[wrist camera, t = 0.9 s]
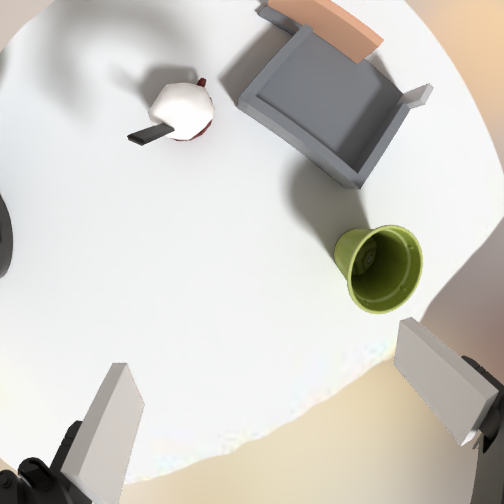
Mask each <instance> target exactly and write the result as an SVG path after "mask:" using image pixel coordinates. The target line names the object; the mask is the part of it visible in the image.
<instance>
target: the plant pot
mask: <svg viewBox="0 0 504 504" xmlns="http://www.w3.org/2000/svg"><path fill="white" fill-rule="evenodd" d="M358 252H359V254H358V255H356V254H357V253H358ZM371 255H372V257H371V260H370V262H369V263H368V264H367V261H368V259H369V257H370V256H371ZM334 258H335V262H336V265H337V267H338V268H339V270H340V271H341V273H342V274H343V276H344V277H345V279H346V280H347V286H348V290H349V294H350V296H351V298H352V300H353V301H354V303H355V304H356V305H357V306H358V307H359V308H360V309H362V310H364V311H366V312H368V313H371V314H384V313H388V312H391V311H393V310H395V309H397V308H399V307H400V306H401V305H403V304H404V303H405V302H406V301H407V300H408V299H409V298H410V296H411V295H412V294H413V292H414V291H415V289H416V287H417V285H418V283H419V280H420V277H421V273H422V267H423V256H422V250H421V247H420V245H419V243H418V241H417V239H416V237H415V236H414V235H413V234H412V233H411V232H410V231H409V230H407V229H405V228H403V227H401V226H397V225H385V226H381V227H378V228H376V229H352V230H350V231H348V232H346V233H344V234H343V235H342V236H341V237H340V238H339V240H338V241H337V243H336V246H335V250H334ZM352 270H353V271H352Z"/></svg>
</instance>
